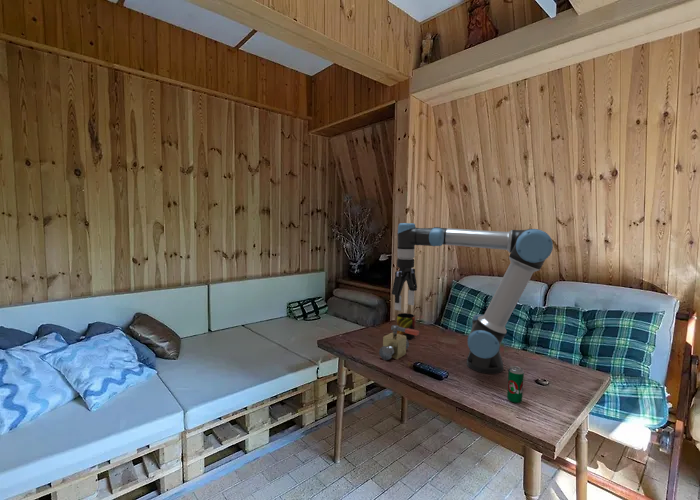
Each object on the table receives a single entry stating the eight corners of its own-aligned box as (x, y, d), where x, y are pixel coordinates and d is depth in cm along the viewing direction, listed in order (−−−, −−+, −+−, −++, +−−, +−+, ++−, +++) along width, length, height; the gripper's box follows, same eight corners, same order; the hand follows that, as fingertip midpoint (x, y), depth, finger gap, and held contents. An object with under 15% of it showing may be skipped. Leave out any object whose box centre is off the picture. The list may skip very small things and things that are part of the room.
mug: (400, 330, 199) (401, 310, 198) (418, 337, 188) (418, 316, 187) (388, 333, 194) (388, 313, 193) (405, 341, 183) (405, 319, 182)
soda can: (517, 396, 126) (519, 365, 125) (525, 404, 121) (527, 371, 120) (504, 396, 126) (505, 365, 125) (511, 404, 121) (512, 371, 120)
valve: (396, 347, 174) (396, 330, 173) (410, 351, 169) (410, 333, 168) (377, 357, 160) (378, 339, 159) (392, 362, 155) (392, 343, 154)
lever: (389, 335, 163) (389, 326, 163) (393, 333, 166) (393, 324, 166) (415, 342, 155) (416, 332, 154) (419, 340, 158) (419, 330, 157)
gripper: (410, 255, 161) (409, 301, 163) (383, 260, 143) (383, 311, 145) (425, 256, 157) (424, 303, 159) (399, 261, 138) (398, 314, 140)
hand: (404, 307), depth 152 cm, fingers open, 11 cm apart
